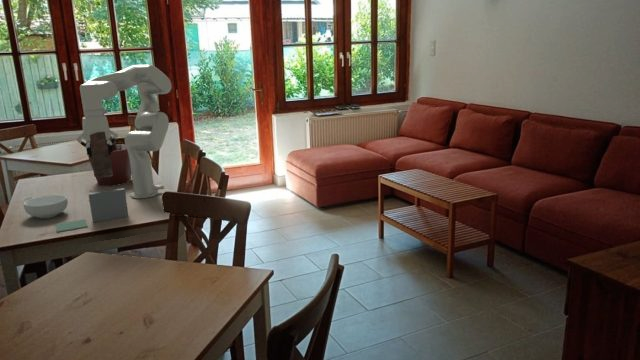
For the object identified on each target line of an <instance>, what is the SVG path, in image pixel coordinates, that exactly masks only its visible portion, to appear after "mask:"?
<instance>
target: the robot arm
mask: <svg viewBox="0 0 640 360" xmlns="http://www.w3.org/2000/svg"><path fill="white" fill-rule="evenodd" d="M135 86H136V88H137V91H138V93H139V94H138V95H139V98H140V105H139V108H138V111H137V114H136V117H135V120H134V127H135V129H136V130H131V131H129V132H127V133H126V135H125V136H124V144H125V145H126V148H127V151H128V154H129V160H130V167H131V181H132V188H133V192H131V193H130V197H131V198H132V199H148V198H153V197H155V196H157V195H158V194H159V192H158V190H164V189H165V185H163V184H162V185H161V184H157V185H156V184H155V183H154V177H153V169H152V168H153V167H152V161H151V156H150V155H149V153H148V152H158V151H159V150H161V149H162V146H163V144H164V142H165V138H166V135H167V133H168V129H169V117H168V115H167V114H166V113H165V112H162V111H159V108H160V105H159V102H158V101H157V98H156V97H155V96H154V95H167V94H168V93H170V92H171V90H172V82H171V80H170V77H168V76H167V75H166V74H165V73H164V72H163V71H161V70H160V69H159V68H158V67H156V66H155V65H153V64H134V65H133V64H132V65H130V66H127V67H126V68H124V69H121V70H119V71H116V72H112V73H108V74H105V75H101V76H97V77H94V78H91V79H89V80H87V81H85V82H84V83H83V84H80V86H79V91H80V97H81V104H82V111H83V117H82V122H81V124H82V133H81V134H80V135H79V136H78V137H76V138H75V139H76V141H77V142H78V144H80V145H81V146H82V147H85V149H86V155H87V156H88V155H89V157H92V156H91V150H90V146H89V145H90V135H93V134H96V133H99V132H105V136H106V140H107V142H108V148H109V154H110V155H112V154H111V152H113V150H112V144H113V143H114V141H115V142H116V140H117V139H118V136H119V133H117V132H115V131H113V130H111V129H110V126H109V122H108V117H107V116H106V115H105V114H108V109H104V107H103V106H104V105H103V100H111V99H114V98H115V97H116V96H117V95H118V92H122V91H123V92H124V91H127V90H129V89H132V88H133V87H135ZM111 136H112V137H113V138H112V139H111V140H109V139H110V138H111ZM82 139H84V140H85V142H84V141H83V140H82ZM89 157H88V158H89Z"/></svg>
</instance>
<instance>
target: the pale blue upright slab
mask: <svg viewBox="0 0 640 360" xmlns="http://www.w3.org/2000/svg"><path fill="white" fill-rule="evenodd" d="M87 195H88V201H89V207H90V214H91V221H92V222H93V223H96V222H101V221H102V222H104V221H109V220H114V219H118V218H127V217H129V209H128V203H127V194H126V189H125V188H124V187H122V188H117V189H115V188H114V189H109V190H102V191H96V192H89V193H87Z"/></svg>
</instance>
